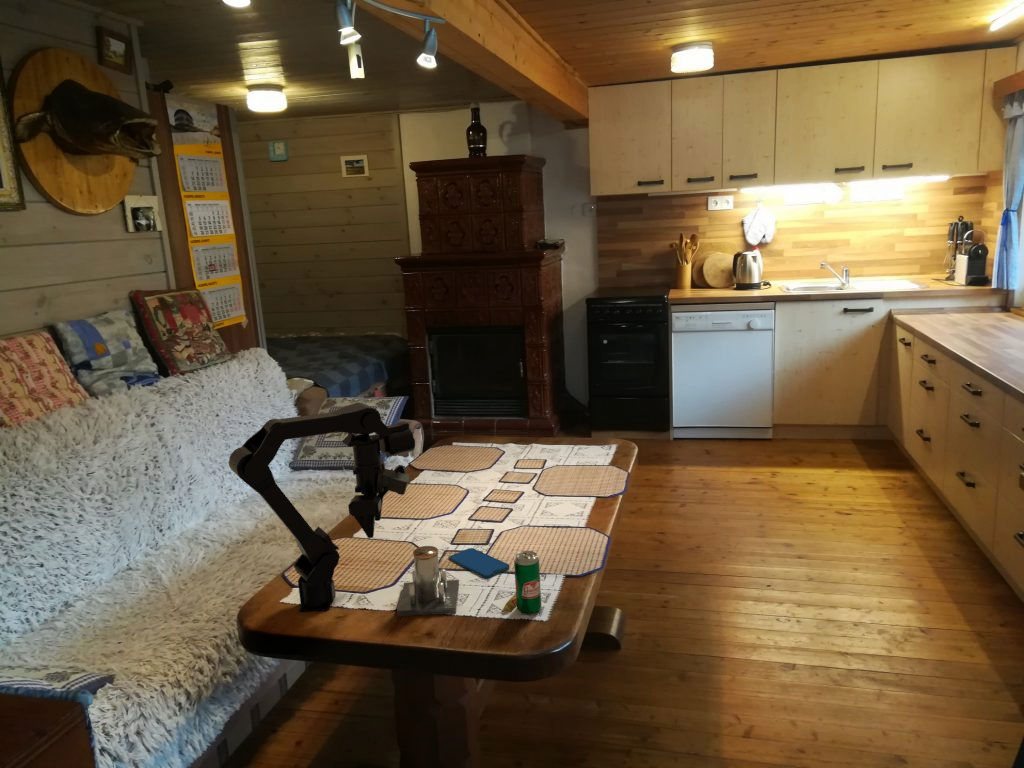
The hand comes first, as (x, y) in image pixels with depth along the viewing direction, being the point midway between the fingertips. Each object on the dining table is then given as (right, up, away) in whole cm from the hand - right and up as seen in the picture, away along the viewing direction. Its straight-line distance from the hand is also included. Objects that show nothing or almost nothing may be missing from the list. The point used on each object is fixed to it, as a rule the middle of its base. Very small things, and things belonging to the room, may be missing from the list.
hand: (374, 528), depth 167 cm
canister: (+13, -13, -6) cm, 19 cm away
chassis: (+13, -14, -6) cm, 20 cm away
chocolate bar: (+32, -14, -7) cm, 35 cm away
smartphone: (+22, -10, +10) cm, 27 cm away
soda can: (+34, -14, -11) cm, 38 cm away
